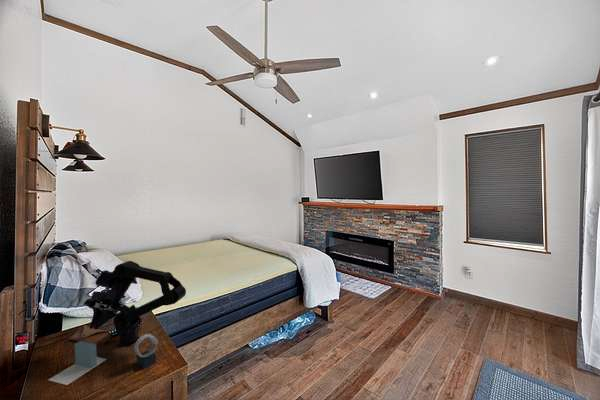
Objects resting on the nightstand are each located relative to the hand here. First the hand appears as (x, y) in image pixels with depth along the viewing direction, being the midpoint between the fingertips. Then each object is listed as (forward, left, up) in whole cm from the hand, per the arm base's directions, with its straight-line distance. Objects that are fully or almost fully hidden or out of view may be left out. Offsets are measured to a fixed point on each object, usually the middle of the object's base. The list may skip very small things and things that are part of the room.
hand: (92, 328), depth 102 cm
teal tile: (+3, 0, -12) cm, 13 cm away
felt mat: (+5, 0, -13) cm, 14 cm away
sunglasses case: (-11, -16, -13) cm, 24 cm away
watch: (-4, +21, -13) cm, 25 cm away
